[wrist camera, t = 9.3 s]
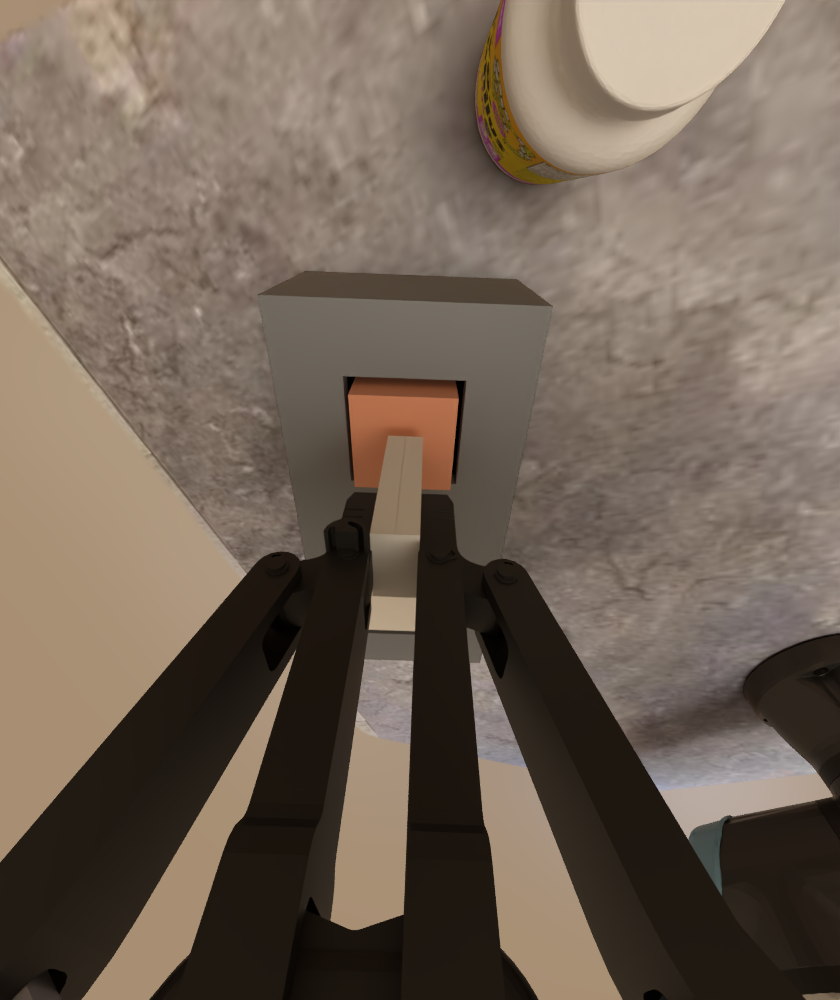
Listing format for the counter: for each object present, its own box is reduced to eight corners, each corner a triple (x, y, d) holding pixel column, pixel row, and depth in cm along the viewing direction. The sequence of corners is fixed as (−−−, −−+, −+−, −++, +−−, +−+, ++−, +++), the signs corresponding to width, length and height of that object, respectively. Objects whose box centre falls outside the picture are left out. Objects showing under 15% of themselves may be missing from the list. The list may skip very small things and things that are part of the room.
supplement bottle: (483, -23, 17) (578, -414, 6) (642, -11, 17) (997, -377, 6) (465, 183, 21) (504, 154, 10) (594, 191, 21) (766, 170, 10)
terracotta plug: (445, 429, 26) (450, 490, 20) (370, 426, 26) (354, 486, 20) (450, 353, 23) (458, 398, 18) (367, 349, 23) (348, 394, 18)
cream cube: (434, 562, 35) (435, 631, 29) (377, 560, 35) (368, 629, 29) (437, 518, 32) (439, 585, 26) (376, 516, 32) (364, 582, 26)
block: (470, 584, 38) (479, 662, 31) (340, 580, 37) (322, 657, 31) (517, 279, 23) (552, 306, 17) (305, 271, 23) (257, 294, 16)
